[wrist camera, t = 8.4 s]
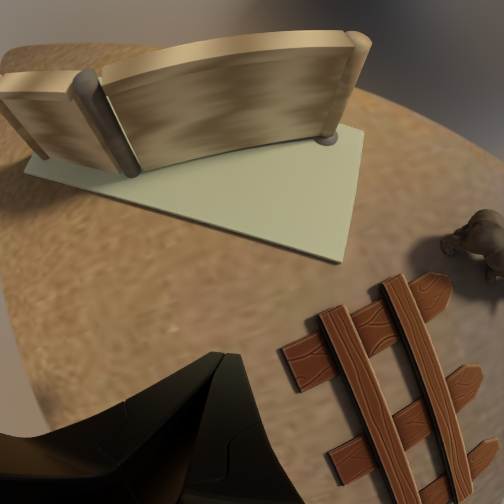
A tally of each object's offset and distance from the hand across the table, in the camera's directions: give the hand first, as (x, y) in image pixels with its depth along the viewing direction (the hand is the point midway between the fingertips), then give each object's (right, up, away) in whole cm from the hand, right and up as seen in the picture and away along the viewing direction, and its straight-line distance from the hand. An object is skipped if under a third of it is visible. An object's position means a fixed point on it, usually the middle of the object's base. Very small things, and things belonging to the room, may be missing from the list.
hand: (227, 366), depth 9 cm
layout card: (-5, +12, +17) cm, 21 cm away
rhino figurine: (+23, +2, +15) cm, 28 cm away
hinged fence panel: (0, +12, +16) cm, 20 cm away
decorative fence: (+14, -10, +12) cm, 21 cm away
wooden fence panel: (-14, +11, +16) cm, 24 cm away
